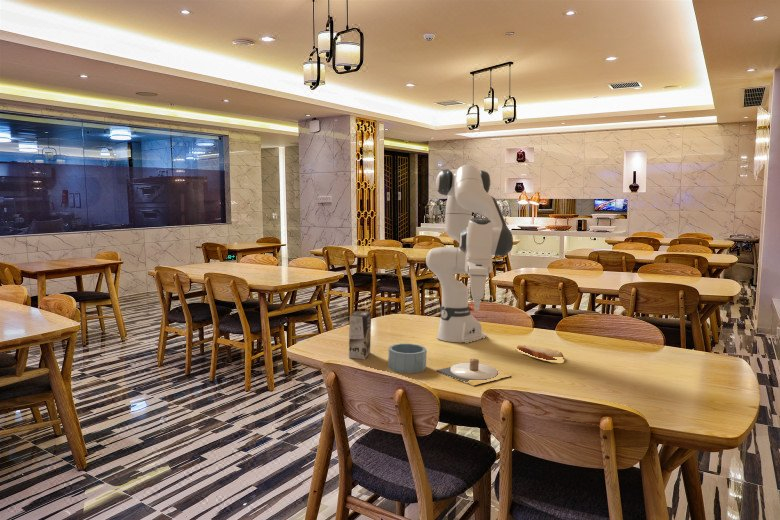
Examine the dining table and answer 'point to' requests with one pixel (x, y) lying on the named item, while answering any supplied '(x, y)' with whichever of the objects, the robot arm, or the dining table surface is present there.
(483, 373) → the lid
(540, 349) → the bread slice
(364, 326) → the coffee box
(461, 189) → the robot arm
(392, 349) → the bowl
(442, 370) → the mat
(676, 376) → the dining table surface
